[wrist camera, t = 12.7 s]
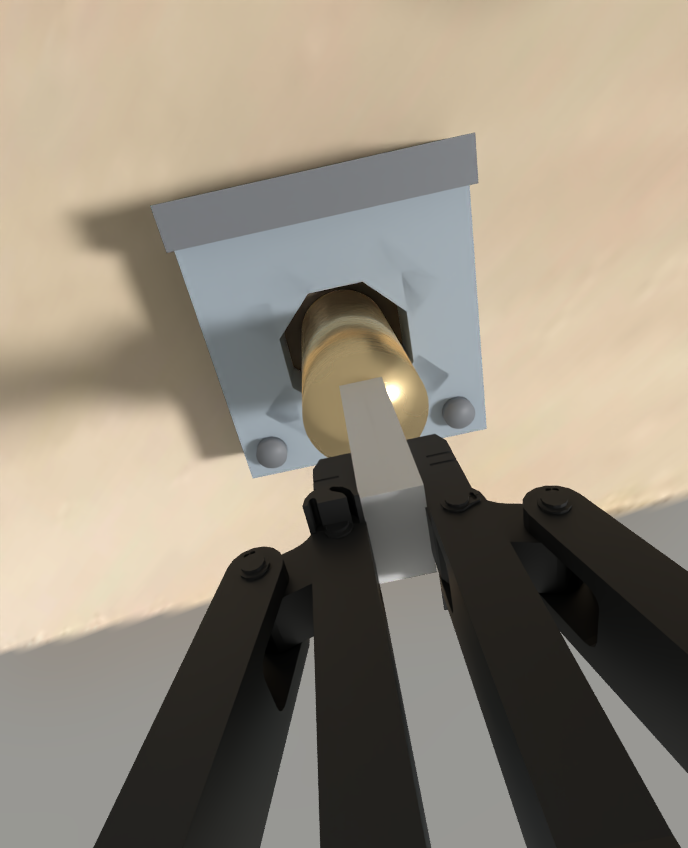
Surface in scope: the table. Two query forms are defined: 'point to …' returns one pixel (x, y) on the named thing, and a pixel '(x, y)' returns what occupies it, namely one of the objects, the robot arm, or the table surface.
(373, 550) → the robot arm
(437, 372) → the jig
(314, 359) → the brass cylinder
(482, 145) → the table surface
